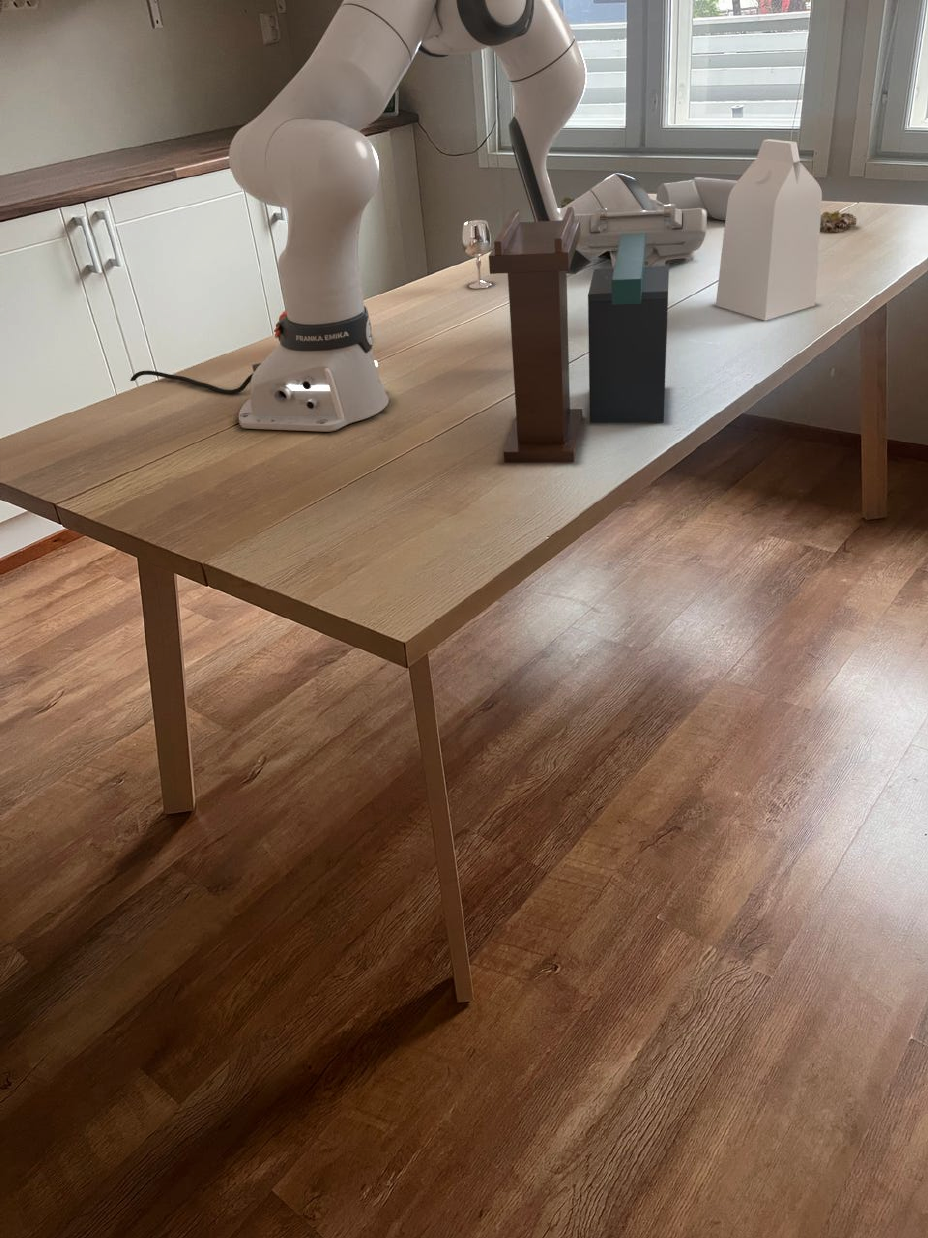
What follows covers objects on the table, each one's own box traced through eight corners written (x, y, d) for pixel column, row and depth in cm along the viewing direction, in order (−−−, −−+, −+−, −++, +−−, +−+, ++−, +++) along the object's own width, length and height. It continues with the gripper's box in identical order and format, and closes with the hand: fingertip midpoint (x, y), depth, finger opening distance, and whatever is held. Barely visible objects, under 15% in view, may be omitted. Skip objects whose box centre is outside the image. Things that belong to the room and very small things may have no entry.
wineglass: (463, 289, 191) (457, 226, 184) (469, 281, 195) (464, 219, 189) (490, 289, 190) (486, 225, 183) (496, 281, 194) (492, 218, 187)
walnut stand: (519, 416, 135) (508, 210, 120) (583, 415, 133) (579, 206, 118) (503, 465, 122) (487, 241, 107) (573, 465, 120) (567, 237, 105)
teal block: (620, 255, 135) (620, 233, 133) (645, 254, 134) (646, 232, 133) (611, 304, 116) (611, 279, 115) (640, 303, 116) (641, 278, 114)
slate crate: (595, 390, 141) (594, 268, 131) (664, 389, 139) (668, 265, 129) (589, 423, 131) (587, 293, 121) (663, 422, 129) (668, 291, 119)
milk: (815, 305, 164) (835, 138, 149) (765, 320, 160) (780, 150, 145) (764, 291, 173) (778, 132, 158) (715, 305, 169) (725, 143, 154)
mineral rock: (861, 211, 206) (856, 209, 199) (858, 233, 207) (853, 231, 200) (809, 212, 210) (802, 210, 204) (807, 234, 212) (800, 232, 205)
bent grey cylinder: (732, 200, 230) (652, 211, 228) (739, 155, 222) (657, 166, 220) (762, 232, 218) (678, 244, 216) (770, 185, 210) (684, 197, 208)
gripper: (570, 224, 150) (561, 193, 136) (704, 217, 146) (709, 184, 132) (569, 265, 150) (560, 238, 137) (703, 260, 146) (707, 231, 133)
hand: (635, 212), depth 134 cm, fingers open, 8 cm apart
